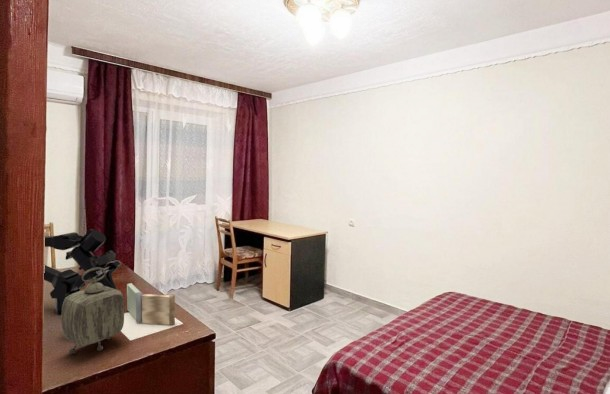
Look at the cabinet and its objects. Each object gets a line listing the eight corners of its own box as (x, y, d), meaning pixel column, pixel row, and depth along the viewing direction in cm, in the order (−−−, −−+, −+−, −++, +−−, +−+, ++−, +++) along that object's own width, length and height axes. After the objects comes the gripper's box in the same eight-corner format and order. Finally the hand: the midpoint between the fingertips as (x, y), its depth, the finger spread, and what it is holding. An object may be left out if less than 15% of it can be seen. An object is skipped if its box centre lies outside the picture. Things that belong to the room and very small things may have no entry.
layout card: (130, 341, 108) (130, 340, 108) (107, 318, 124) (107, 317, 124) (183, 324, 121) (183, 323, 121) (156, 305, 137) (156, 304, 137)
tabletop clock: (111, 335, 111) (110, 260, 110) (128, 343, 107) (127, 265, 105) (62, 355, 99) (59, 271, 97) (78, 365, 94) (76, 277, 93)
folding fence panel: (143, 321, 120) (142, 293, 120) (137, 323, 119) (136, 294, 118) (132, 308, 131) (131, 282, 131) (126, 310, 130) (126, 283, 129)
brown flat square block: (141, 323, 120) (141, 294, 119) (144, 321, 121) (144, 292, 121) (173, 325, 119) (173, 296, 118) (175, 323, 121) (175, 294, 120)
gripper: (82, 251, 118) (113, 283, 118) (116, 240, 136) (142, 268, 136) (61, 272, 119) (92, 304, 119) (97, 258, 137) (124, 286, 137)
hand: (114, 289), depth 128 cm, fingers closed
